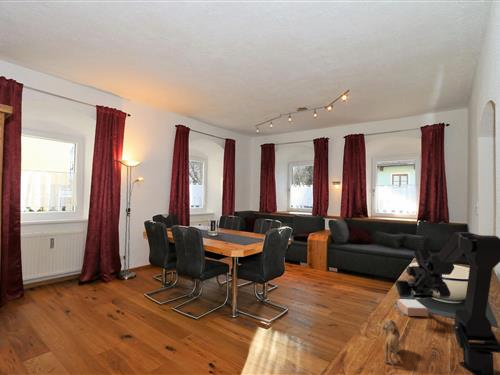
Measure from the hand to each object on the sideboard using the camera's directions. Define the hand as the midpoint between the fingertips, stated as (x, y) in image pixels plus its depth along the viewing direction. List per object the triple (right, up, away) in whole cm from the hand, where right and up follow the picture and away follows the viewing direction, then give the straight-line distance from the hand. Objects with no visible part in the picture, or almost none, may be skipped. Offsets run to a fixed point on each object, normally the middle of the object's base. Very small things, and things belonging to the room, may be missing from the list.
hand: (415, 298), depth 117 cm
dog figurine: (-25, -7, -29) cm, 39 cm away
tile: (0, -5, -2) cm, 5 cm away
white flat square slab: (+1, -7, +5) cm, 9 cm away
